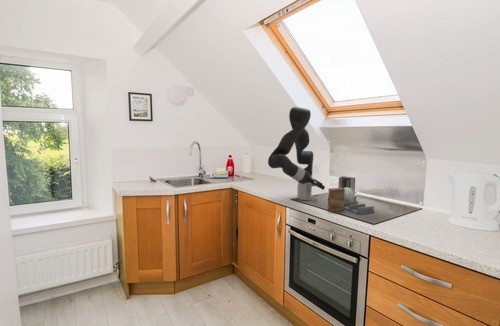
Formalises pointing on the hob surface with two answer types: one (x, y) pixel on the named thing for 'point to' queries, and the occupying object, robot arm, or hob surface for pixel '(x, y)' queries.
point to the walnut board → (336, 199)
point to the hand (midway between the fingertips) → (318, 186)
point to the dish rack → (358, 208)
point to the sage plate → (348, 195)
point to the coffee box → (347, 183)
